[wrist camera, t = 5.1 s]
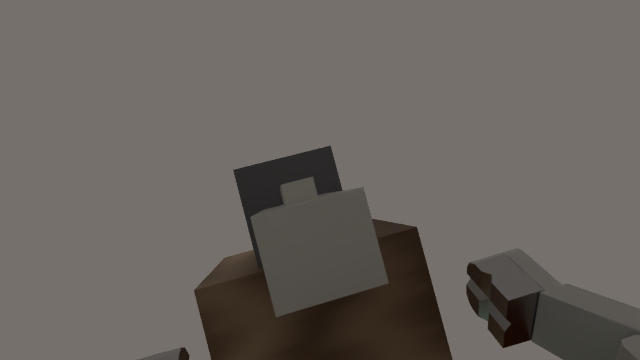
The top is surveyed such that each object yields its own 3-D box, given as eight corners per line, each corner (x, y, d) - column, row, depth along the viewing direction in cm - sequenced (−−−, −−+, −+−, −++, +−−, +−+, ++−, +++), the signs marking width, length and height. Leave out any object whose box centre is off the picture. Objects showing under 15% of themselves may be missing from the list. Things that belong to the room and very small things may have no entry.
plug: (242, 327, 11) (195, 142, 11) (264, 249, 28) (245, 178, 28) (419, 274, 12) (373, 100, 12) (334, 230, 29) (316, 161, 29)
